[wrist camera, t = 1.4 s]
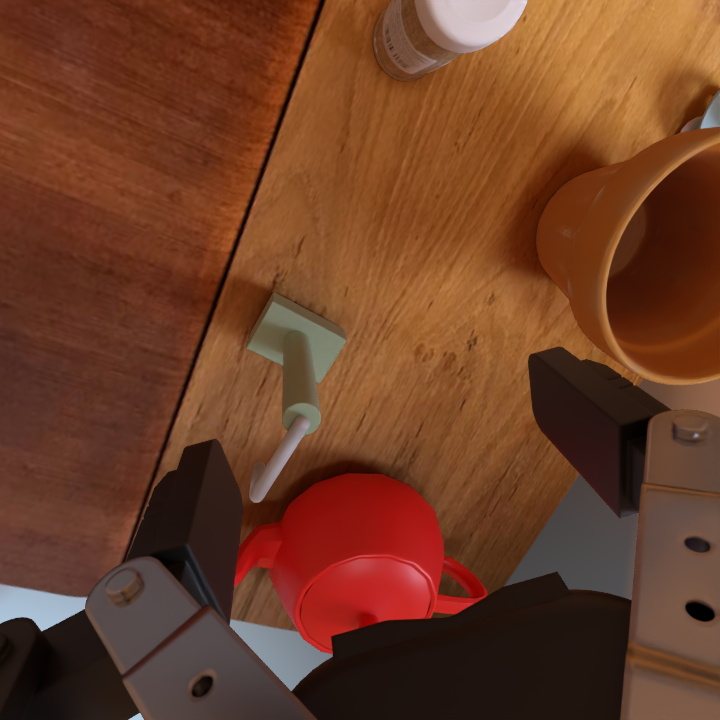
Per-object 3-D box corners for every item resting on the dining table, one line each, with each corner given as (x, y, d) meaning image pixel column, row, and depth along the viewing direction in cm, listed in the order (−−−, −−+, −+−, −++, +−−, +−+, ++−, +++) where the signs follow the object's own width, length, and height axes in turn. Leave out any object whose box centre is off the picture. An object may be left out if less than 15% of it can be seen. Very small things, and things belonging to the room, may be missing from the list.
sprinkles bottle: (446, 71, 33) (542, 28, 21) (380, 90, 33) (437, 60, 20) (432, -11, 31) (529, -112, 19) (362, 10, 31) (413, -78, 19)
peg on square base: (229, 367, 39) (199, 485, 26) (273, 287, 37) (267, 370, 23) (296, 398, 41) (302, 523, 27) (342, 324, 39) (372, 420, 25)
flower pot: (710, 172, 38) (901, 185, 26) (615, 337, 43) (741, 411, 31) (558, 97, 34) (701, 74, 23) (472, 287, 39) (554, 349, 27)
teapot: (492, 479, 47) (555, 582, 36) (433, 597, 52) (473, 718, 41) (228, 427, 41) (206, 532, 30) (192, 566, 46) (163, 699, 35)
